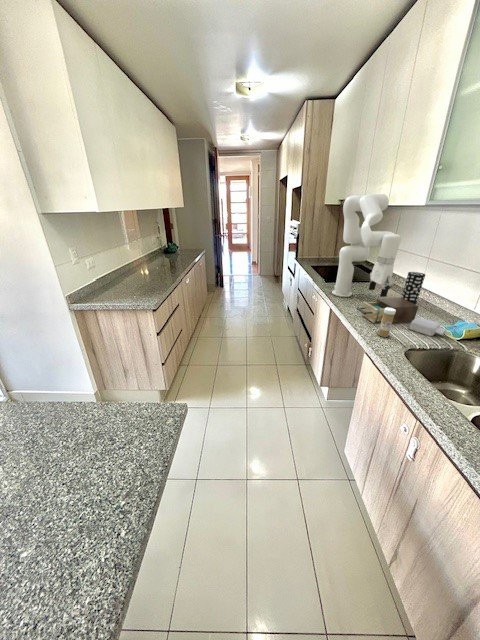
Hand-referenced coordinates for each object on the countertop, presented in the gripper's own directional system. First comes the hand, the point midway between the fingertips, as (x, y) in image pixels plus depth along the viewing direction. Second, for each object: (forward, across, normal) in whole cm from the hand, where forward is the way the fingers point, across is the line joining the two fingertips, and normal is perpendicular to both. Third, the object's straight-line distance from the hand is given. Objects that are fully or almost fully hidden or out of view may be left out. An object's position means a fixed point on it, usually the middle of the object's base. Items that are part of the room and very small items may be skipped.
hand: (377, 293), depth 135 cm
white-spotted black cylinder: (+14, -11, +31) cm, 36 cm away
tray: (+13, +3, 0) cm, 13 cm away
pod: (+12, +3, 0) cm, 12 cm away
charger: (+14, +21, +17) cm, 30 cm away
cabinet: (+14, +3, +11) cm, 18 cm away
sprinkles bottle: (+14, +20, -7) cm, 25 cm away
